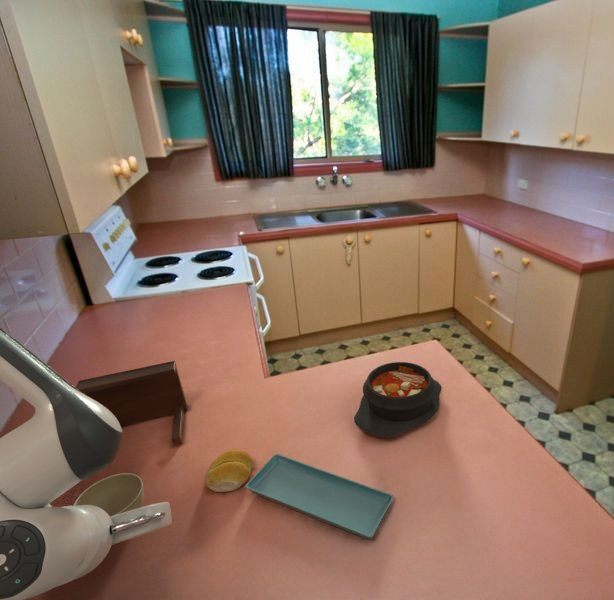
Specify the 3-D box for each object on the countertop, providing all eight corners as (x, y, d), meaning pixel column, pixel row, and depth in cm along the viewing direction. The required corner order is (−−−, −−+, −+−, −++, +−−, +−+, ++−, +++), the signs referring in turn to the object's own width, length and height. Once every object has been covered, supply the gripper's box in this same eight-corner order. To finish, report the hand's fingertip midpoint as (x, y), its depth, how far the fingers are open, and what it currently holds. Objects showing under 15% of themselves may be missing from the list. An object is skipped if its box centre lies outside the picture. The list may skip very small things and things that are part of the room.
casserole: (396, 372, 115) (395, 345, 111) (458, 393, 105) (459, 364, 102) (335, 425, 96) (332, 394, 92) (405, 457, 86) (404, 424, 83)
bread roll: (256, 456, 88) (253, 440, 86) (247, 490, 80) (243, 474, 78) (215, 460, 87) (211, 445, 85) (201, 495, 79) (197, 479, 77)
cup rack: (186, 442, 92) (171, 392, 87) (83, 470, 85) (60, 417, 80) (188, 407, 103) (174, 360, 98) (97, 429, 97) (78, 380, 92)
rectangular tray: (395, 503, 76) (394, 492, 75) (372, 547, 68) (371, 536, 68) (277, 461, 86) (275, 452, 85) (245, 496, 78) (243, 486, 77)
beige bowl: (82, 564, 67) (66, 533, 64) (90, 516, 75) (76, 487, 72) (153, 536, 71) (141, 505, 69) (153, 493, 80) (143, 464, 77)
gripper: (157, 490, 60) (178, 490, 72) (-27, 545, 53) (31, 535, 65) (162, 539, 58) (183, 530, 70) (-29, 603, 51) (31, 581, 63)
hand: (108, 533), depth 67 cm, fingers closed, pressing on beige bowl
